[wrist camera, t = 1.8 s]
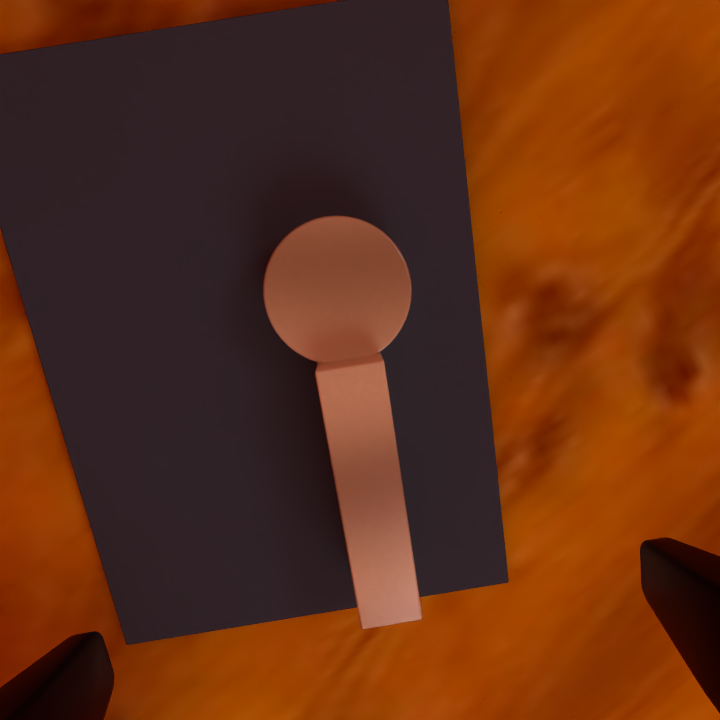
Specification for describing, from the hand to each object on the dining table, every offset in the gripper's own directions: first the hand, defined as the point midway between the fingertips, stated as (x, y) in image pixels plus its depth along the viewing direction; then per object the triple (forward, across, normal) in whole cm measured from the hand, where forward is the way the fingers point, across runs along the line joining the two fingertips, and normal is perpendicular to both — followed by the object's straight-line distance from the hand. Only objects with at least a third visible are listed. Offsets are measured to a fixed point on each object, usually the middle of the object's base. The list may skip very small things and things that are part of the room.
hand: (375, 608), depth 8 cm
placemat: (+11, +3, -3) cm, 12 cm away
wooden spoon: (+11, 0, 0) cm, 11 cm away
